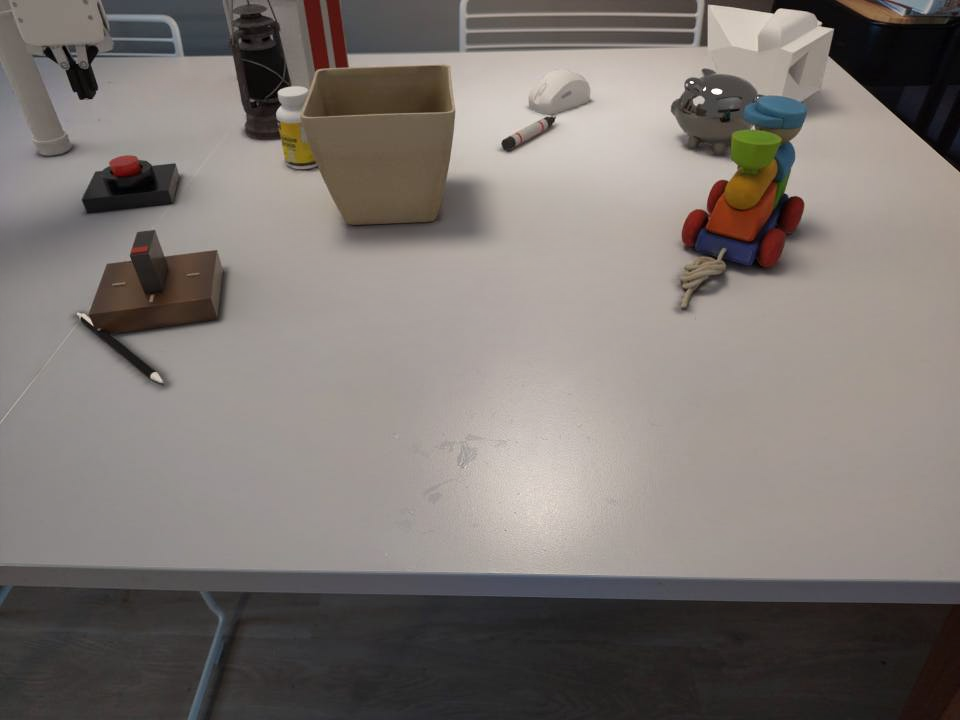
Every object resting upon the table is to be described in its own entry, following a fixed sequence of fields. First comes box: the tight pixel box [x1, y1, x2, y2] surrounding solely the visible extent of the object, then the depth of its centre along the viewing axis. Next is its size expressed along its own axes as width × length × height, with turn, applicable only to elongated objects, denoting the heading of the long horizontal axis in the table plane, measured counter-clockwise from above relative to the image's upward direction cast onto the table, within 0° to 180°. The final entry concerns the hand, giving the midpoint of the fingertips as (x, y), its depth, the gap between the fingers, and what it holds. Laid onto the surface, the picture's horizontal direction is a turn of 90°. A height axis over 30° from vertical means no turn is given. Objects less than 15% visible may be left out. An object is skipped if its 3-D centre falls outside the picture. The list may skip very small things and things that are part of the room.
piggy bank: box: [670, 67, 765, 156], centre depth 112 cm, size 11×15×12 cm
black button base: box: [81, 159, 180, 214], centre depth 104 cm, size 12×10×4 cm
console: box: [87, 249, 224, 335], centre depth 81 cm, size 13×11×3 cm
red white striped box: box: [221, 0, 350, 102], centre depth 133 cm, size 16×18×27 cm
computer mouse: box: [528, 68, 591, 116], centre depth 130 cm, size 6×13×6 cm, turn 131°
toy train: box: [679, 95, 809, 310], centre depth 83 cm, size 12×29×17 cm, turn 147°
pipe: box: [0, 0, 72, 157], centre depth 109 cm, size 6×6×30 cm
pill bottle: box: [276, 86, 318, 170], centre depth 109 cm, size 6×6×12 cm
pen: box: [76, 312, 164, 384], centre depth 75 cm, size 1×19×1 cm, turn 49°
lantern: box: [226, 0, 292, 140], centre depth 115 cm, size 12×11×30 cm
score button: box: [108, 154, 141, 176], centre depth 102 cm, size 4×4×2 cm
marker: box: [501, 115, 557, 151], centre depth 119 cm, size 15×2×2 cm, turn 142°
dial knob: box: [129, 229, 168, 293], centre depth 78 cm, size 6×2×5 cm, turn 13°
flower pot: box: [300, 63, 456, 226], centre depth 95 cm, size 19×19×17 cm
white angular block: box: [707, 4, 835, 103], centre depth 129 cm, size 17×24×17 cm
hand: (88, 96), depth 95 cm, fingers closed
